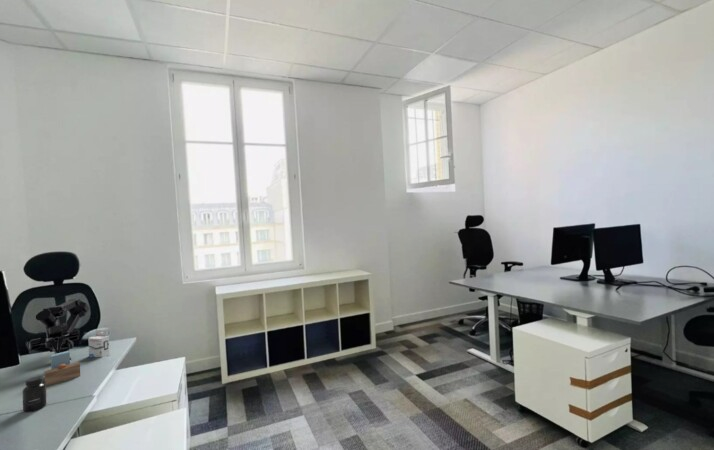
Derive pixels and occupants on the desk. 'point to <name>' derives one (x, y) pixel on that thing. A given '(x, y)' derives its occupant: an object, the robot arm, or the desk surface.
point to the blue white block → (60, 359)
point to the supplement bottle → (34, 394)
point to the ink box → (99, 344)
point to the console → (61, 373)
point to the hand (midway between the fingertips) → (58, 353)
